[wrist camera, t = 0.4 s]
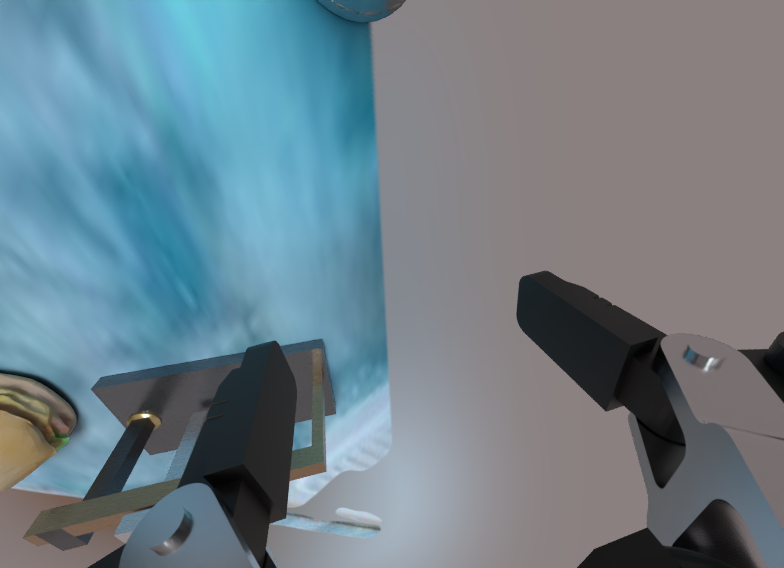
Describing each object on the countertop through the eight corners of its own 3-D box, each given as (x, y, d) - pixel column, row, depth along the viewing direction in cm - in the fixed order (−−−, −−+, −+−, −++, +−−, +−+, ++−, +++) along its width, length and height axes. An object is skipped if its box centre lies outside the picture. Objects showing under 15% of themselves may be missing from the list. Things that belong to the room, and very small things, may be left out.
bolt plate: (101, 377, 28) (-20, 523, 18) (321, 339, 32) (324, 440, 22) (156, 442, 34) (89, 578, 24) (335, 404, 38) (342, 506, 28)
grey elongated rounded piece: (175, 396, 29) (45, 653, 15) (208, 390, 30) (112, 632, 16) (193, 423, 32) (96, 665, 18) (224, 416, 32) (153, 646, 18)
